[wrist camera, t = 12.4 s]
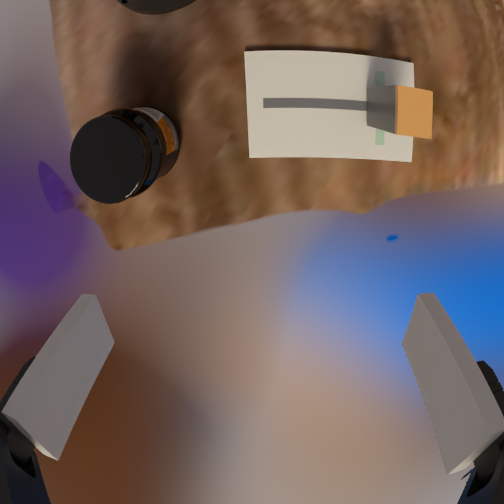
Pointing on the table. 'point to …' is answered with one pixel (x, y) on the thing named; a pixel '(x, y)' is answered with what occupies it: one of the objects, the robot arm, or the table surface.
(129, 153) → the supplement container
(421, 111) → the lever
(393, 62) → the fader console
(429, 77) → the table surface
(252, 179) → the table surface
